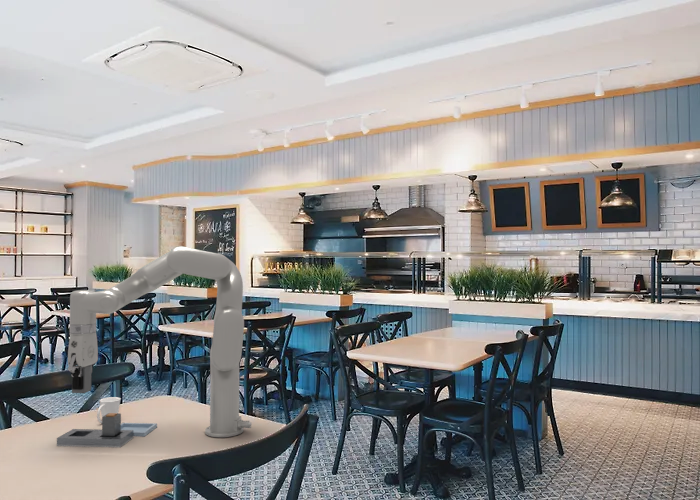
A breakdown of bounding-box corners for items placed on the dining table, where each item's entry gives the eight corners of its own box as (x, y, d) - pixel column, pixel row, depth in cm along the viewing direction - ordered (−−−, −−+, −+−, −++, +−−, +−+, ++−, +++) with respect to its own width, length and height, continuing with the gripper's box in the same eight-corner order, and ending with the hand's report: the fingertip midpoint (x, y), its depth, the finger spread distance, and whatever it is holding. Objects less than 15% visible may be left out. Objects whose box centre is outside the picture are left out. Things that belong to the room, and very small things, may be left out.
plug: (91, 390, 176) (91, 364, 176) (84, 393, 172) (84, 366, 172) (78, 389, 176) (79, 363, 176) (71, 393, 172) (72, 366, 172)
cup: (124, 420, 199) (124, 397, 199) (106, 428, 189) (107, 404, 189) (107, 418, 200) (107, 396, 200) (88, 426, 191) (89, 403, 191)
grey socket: (133, 439, 177) (133, 410, 177) (120, 449, 168) (120, 418, 168) (73, 438, 178) (73, 409, 179) (56, 447, 169) (57, 417, 170)
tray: (156, 428, 189) (157, 423, 189) (144, 438, 179) (144, 432, 179) (122, 428, 189) (122, 422, 189) (108, 437, 179) (108, 431, 179)
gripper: (79, 333, 166) (78, 394, 166) (107, 326, 183) (106, 382, 182) (55, 332, 166) (54, 393, 166) (85, 326, 183) (84, 381, 183)
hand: (81, 387), depth 174 cm, fingers closed on plug, 4 cm apart
